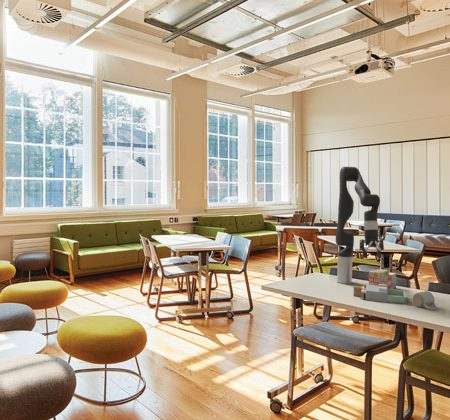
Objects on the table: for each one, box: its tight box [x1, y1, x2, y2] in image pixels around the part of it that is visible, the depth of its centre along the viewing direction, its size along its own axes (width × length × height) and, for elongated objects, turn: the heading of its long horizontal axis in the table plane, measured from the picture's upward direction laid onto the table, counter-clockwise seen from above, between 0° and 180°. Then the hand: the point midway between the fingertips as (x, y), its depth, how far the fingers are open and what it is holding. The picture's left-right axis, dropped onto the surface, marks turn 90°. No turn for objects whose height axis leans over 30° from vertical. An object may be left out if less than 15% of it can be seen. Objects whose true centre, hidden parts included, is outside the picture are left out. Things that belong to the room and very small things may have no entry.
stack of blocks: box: [368, 268, 397, 290], centre depth 243 cm, size 21×6×12 cm, turn 130°
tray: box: [387, 289, 408, 305], centre depth 220 cm, size 17×10×4 cm, turn 159°
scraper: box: [353, 285, 366, 300], centre depth 228 cm, size 16×6×5 cm, turn 159°
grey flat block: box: [365, 284, 388, 303], centre depth 224 cm, size 16×11×5 cm
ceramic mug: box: [412, 290, 437, 311], centre depth 205 cm, size 11×8×8 cm
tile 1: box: [379, 287, 387, 292], centre depth 219 cm, size 4×4×2 cm
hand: (372, 257), depth 226 cm, fingers open, 8 cm apart
